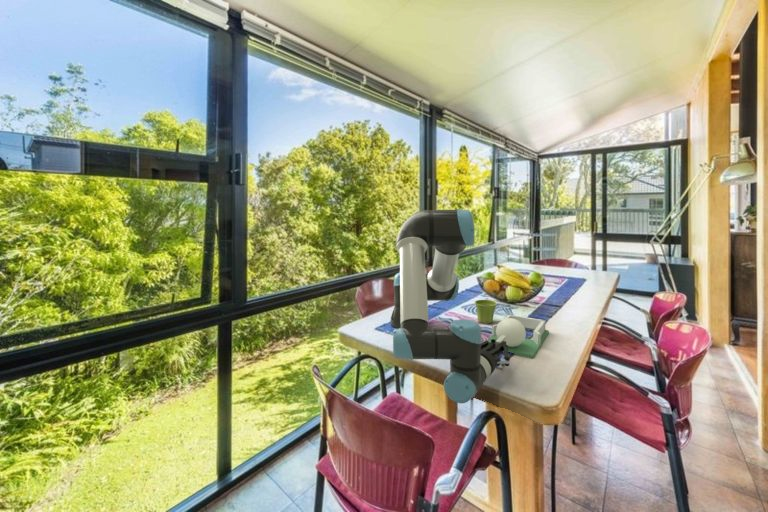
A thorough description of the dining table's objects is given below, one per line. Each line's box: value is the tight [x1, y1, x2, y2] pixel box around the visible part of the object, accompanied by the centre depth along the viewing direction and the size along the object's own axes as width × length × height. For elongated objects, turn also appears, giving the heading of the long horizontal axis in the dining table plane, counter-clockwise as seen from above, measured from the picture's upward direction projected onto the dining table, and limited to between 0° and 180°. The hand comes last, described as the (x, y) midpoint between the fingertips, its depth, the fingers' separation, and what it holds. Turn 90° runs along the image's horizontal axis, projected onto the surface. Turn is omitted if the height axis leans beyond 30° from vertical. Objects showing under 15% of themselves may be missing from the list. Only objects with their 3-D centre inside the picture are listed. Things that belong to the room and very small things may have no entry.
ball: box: [496, 318, 527, 347], centre depth 121 cm, size 10×10×10 cm
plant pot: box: [474, 299, 498, 325], centre depth 150 cm, size 9×9×9 cm
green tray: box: [486, 313, 550, 359], centre depth 129 cm, size 17×28×5 cm, turn 145°
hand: (503, 339), depth 114 cm, fingers closed
